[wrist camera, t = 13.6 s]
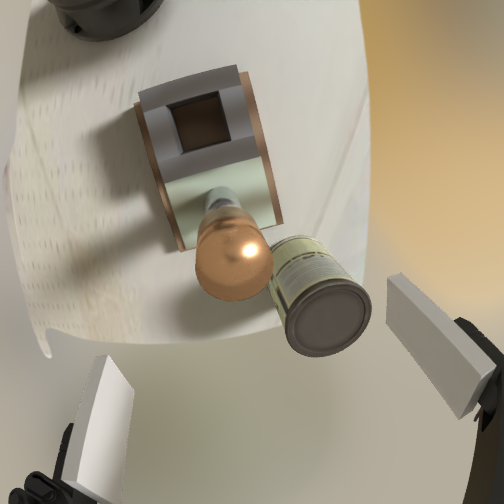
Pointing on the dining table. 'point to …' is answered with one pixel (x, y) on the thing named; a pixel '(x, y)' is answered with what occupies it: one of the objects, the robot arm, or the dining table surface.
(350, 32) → the dining table surface
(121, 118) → the dining table surface
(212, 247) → the peg
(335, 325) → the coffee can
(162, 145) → the board
